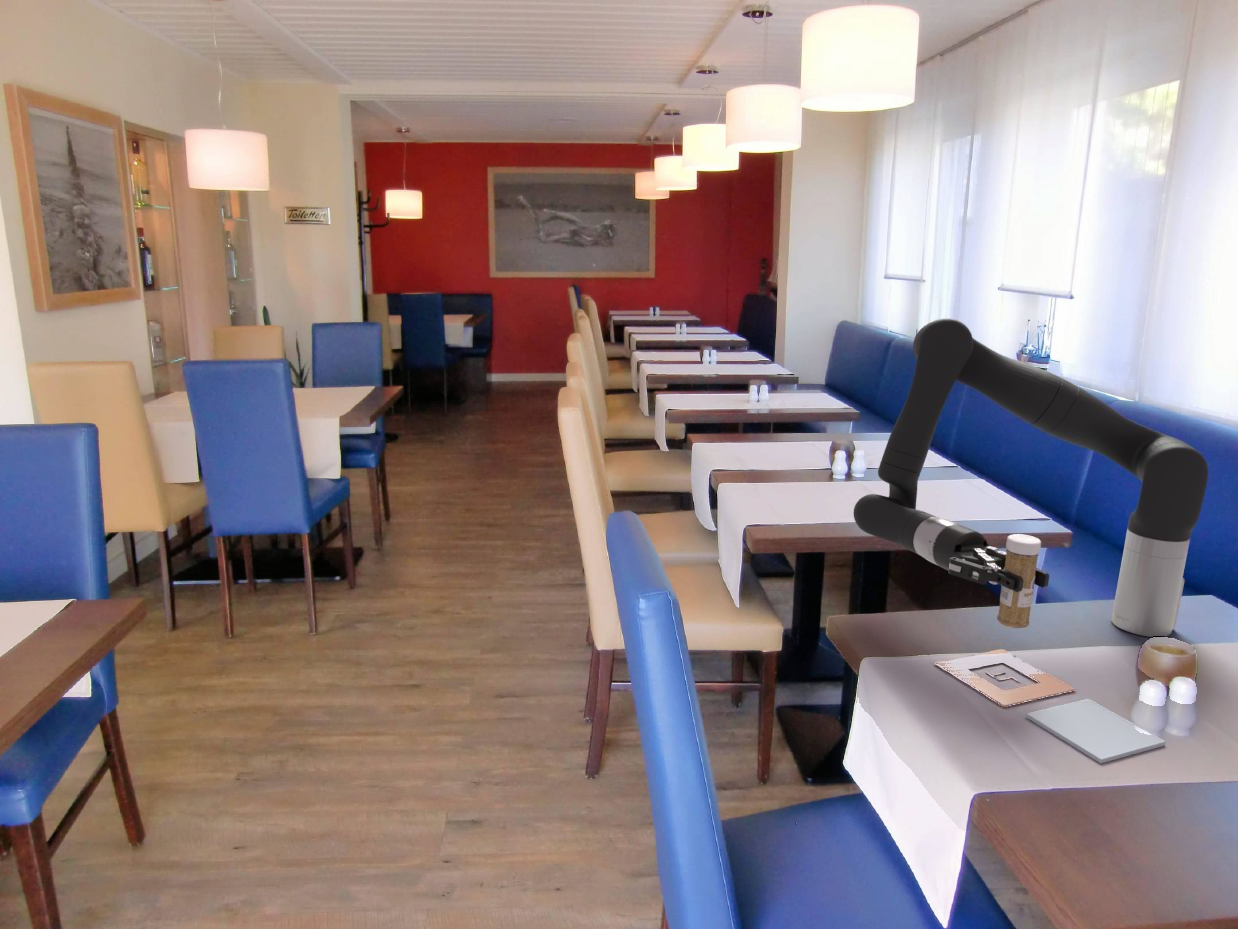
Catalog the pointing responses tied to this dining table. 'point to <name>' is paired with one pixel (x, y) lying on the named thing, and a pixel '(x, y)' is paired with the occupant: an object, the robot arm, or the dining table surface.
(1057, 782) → the dining table surface
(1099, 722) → the pad
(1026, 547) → the sprinkles bottle
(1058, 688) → the peach square frame
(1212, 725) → the dining table surface
